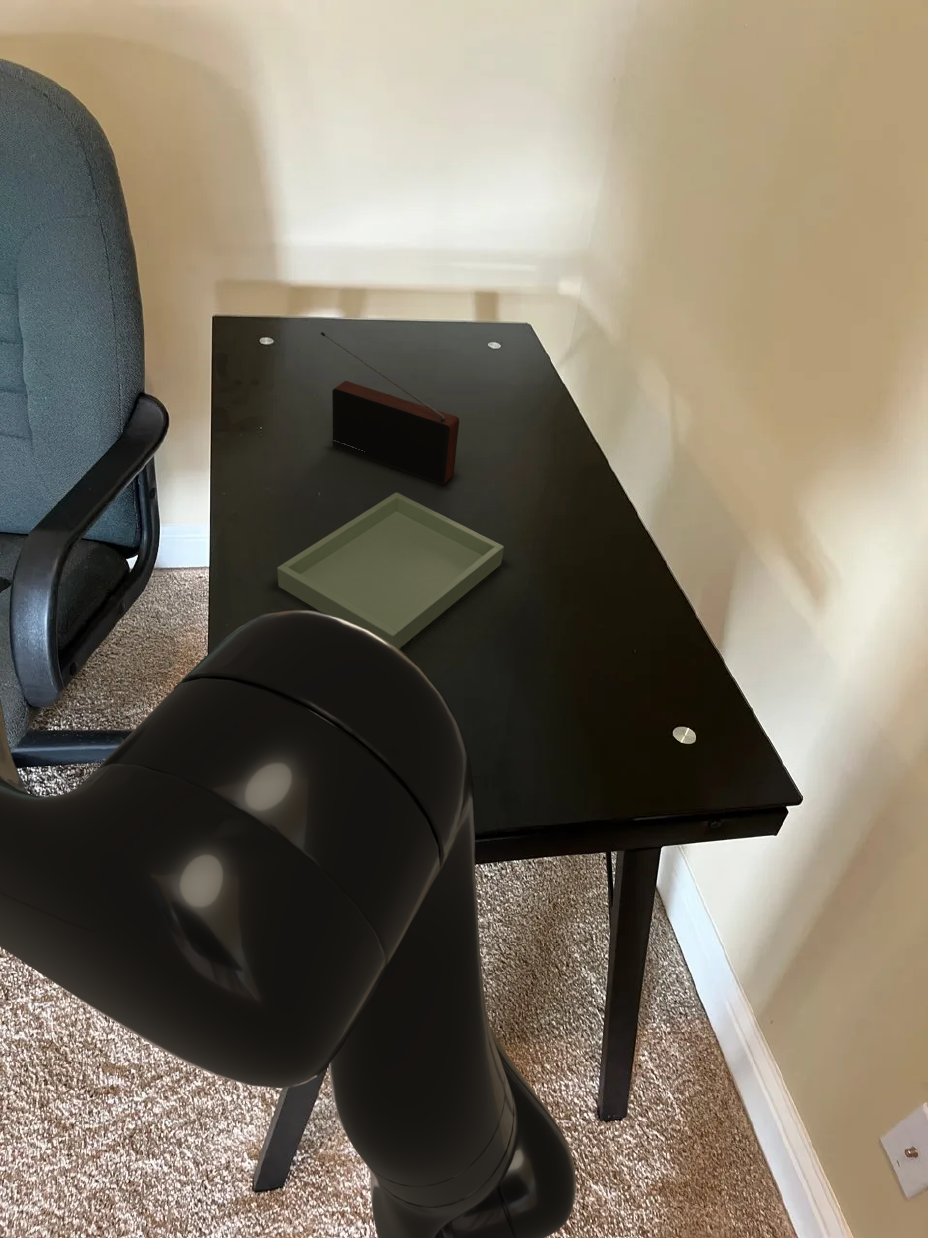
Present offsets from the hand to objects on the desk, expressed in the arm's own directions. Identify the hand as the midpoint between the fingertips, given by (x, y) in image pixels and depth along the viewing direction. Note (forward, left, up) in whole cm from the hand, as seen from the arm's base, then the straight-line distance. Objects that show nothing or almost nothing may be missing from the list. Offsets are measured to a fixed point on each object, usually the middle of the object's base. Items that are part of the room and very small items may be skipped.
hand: (327, 719), depth 65 cm
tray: (+25, +13, -8) cm, 29 cm away
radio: (+43, +29, -8) cm, 52 cm away
